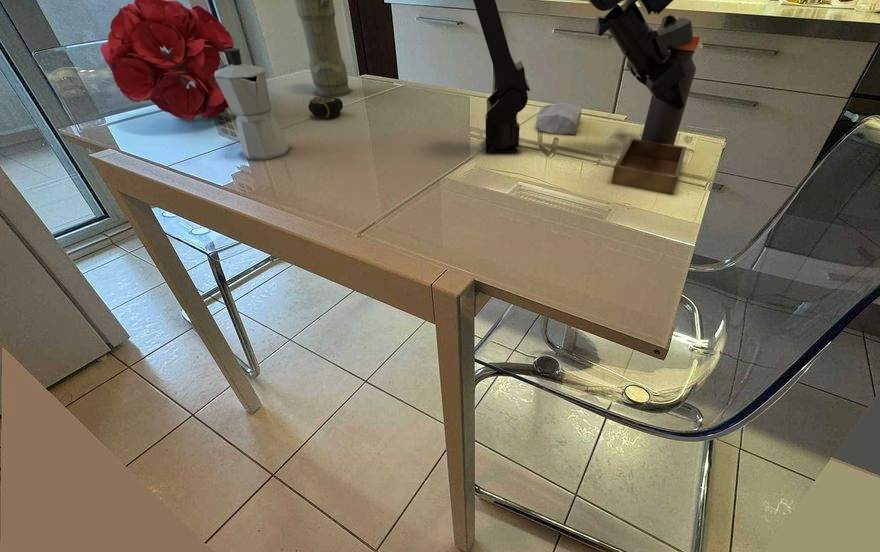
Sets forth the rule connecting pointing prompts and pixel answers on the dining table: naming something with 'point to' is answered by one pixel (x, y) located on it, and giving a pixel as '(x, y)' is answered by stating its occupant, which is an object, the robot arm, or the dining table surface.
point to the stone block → (559, 118)
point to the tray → (649, 165)
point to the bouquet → (168, 57)
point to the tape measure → (325, 106)
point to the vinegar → (662, 115)
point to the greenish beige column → (323, 47)
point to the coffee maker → (251, 108)
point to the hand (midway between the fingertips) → (675, 102)
